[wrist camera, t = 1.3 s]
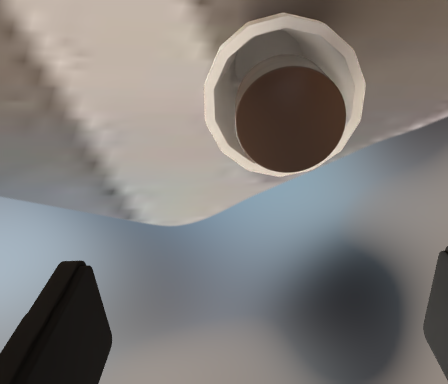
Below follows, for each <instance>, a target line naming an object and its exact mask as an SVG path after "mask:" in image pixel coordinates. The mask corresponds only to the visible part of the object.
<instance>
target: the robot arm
mask: <svg viewBox="0 0 448 384" xmlns="http://www.w3.org/2000/svg"><path fill="white" fill-rule="evenodd" d="M423 329H424V334H425V338H426V340H427V342H428V344H429V346H430V348H431V350H432V351H433V353H434V355H435V357H436V359H437V361H438V363H439V365H440V366H441V369H442V371H443V372H444V374H445V376H446V378H447V380H448V246H447V247H446V250H445V251H441V252H440V253H439V256H438V261H437V265H436V270H435V275H434V279H433V284H432V288H431V293H430V297H429V302H428V306H427V311H426V316H425V320H424V326H423ZM111 345H112V334H111V330H110V327H109V324H108V320H107V317H106V314H105V310H104V307H103V303H102V300H101V297H100V293H99V290H98V287H97V283H96V280H95V276H94V273H93V269H92V267H91V266H86V264H85V262H84V261H63V262H61V263H60V264H59V265H58V266H57V268H56V270H55V271H54V273H53V274H52V276H51V278H50V279H49V281H48V282H47V284H46V285H45V287H44V288H43V290H42V291H41V293H40V295H39V296H38V298H37V300H36V301H35V302H34V304H33V306H32V307H31V309H30V310H29V312H28V313H27V314H26V315H25V316H24V318H23V319H22V321H21V322H20V324H19V325H18V327H17V328H16V330H15V332H14V333H13V335H12V336H11V338H10V339H9V341H8V342H7V344H6V346H5V347H4V349H3V350H2V352H1V353H0V384H98V383H99V380H100V377H101V375H102V372H103V369H104V366H105V363H106V360H107V357H108V355H109V352H110V348H111Z"/></svg>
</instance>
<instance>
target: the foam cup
mask: <svg viewBox="0 0 448 384" xmlns="http://www.w3.org/2000/svg"><path fill="white" fill-rule="evenodd" d="M281 54H293V55H298V56H301V57H304V58H307V59H309V60H310V61H312V62H313V63H315V64H316V65H317V66H318V67H319V68H320V69H321V70H322V71H323V72H324V73H325V74H326V75H327V76H328V77H329V78H330V79H331V80H332V81H333V82H334V83H335V85H336V86H337V87H338V89H339V91H340V92H341V94H342V96H343V99H344V102H345V107H346V124H345V129H344V132H343V135H342V137H341V139H340V141H339V143H338V145H337V146H336V148H335V149H334V150H333V152H332V153H331V154H330V155H329V156H328V157H327V158H326V159H324V160H323V161H322V162H320V163H319V164H317V165H315V166H313V167H311V168H309V169H306V170H303V171H299V172H292V173H282V172H275V171H271V170H268V169H266V168H263V167H261V166H260V165H258V164H256V163H255V162H254V161H252V160H251V159H250V158H249V157H248V156H247V155H246V154H245V152H244V151H243V149H242V148H241V146H240V144H239V142H238V139H237V136H236V131H235V103H236V95H237V91H238V88H239V85H240V83H241V81H242V79H243V78H244V76H245V75H246V74H247V73H248V71H249V70H250V69H251V68H252V67H254V66H255V65H256V64H257V63H259V62H260V61H262V60H264V59H266V58H269V57H272V56H275V55H281ZM365 87H366V83H365V80H364V77H363V74H362V71H361V69H360V66H359V63H358V60H357V57H356V54H355V51H354V49H353V48H352V47H351V46H350V45H348V44H347V43H346V42H345V41H344V40H343V39H342V38H341V37H340V36H339V35H337V34H336V33H335V32H334V31H333V30H332V29H331V28H330V27H329V26H327V25H326V24H325V23H323V22H320V21H318V20H314V19H310V18H306V17H301V16H297V15H292V14H288V13H284V12H283V13H279V14H275V15H271V16H268V17H264V18H260V19H257V20H253V21H249V22H247V23H246V24H245V25H244V26H242V27H241V28H240V29H239V30H238V31H237V32H236V33H234V34H233V35H232V36H231V37H230V38H229V39H228V40H227V41H225V42H224V43H223V44H222V45H221V46H220V48H219V50H218V52H217V55H216V57H215V60H214V62H213V64H212V67H211V69H210V71H209V74H208V76H207V78H206V81H205V84H204V107H205V123H206V125H207V126H208V128H209V130H210V132H211V134H212V136H213V137H214V139H215V141H216V143H217V145H218V147H219V148H220V150H221V152H223V153H224V154H225V155H227V156H228V157H230V158H231V159H232V160H234V161H235V162H236V163H238V164H239V165H241V166H242V167H243V168H245V169H246V170H248V171H253V172H258V173H263V174H268V175H273V176H278V177H282V176H287V175H291V174H296V173H301V172H306V171H311V170H313V169H315V168H316V167H318V166H319V165H321V164H322V163H324V162H325V161H327V160H328V159H330V158H331V157H333V156H334V155H335V154H337V153H338V152H340V151H341V150H342V149H343V147H344V146H345V144H346V143H347V141H348V139H349V138H350V136H351V135H352V133H353V132H354V130H355V129H356V127H357V125H358V124H359V122H360V121H361V115H362V108H363V101H364V94H365Z"/></svg>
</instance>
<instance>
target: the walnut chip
mask: <svg viewBox="0 0 448 384" xmlns="http://www.w3.org/2000/svg"><path fill="white" fill-rule="evenodd" d="M345 124H346V107H345V102H344V99H343V96H342V94H341V92H340V91H339V89H338V87H337V86H336V85H335V83H334V82H333V81H332V80H331V79H330V78H329V77H328V76H327V75H326V74H325V73H324V72H323V71H322V70H321V69H320V68H319V67H318V66H317V65H316V64H315V63H313V62H312V61H310V60H309V59H307V58H304V57H301V56H298V55H293V54H281V55H275V56H272V57H269V58H266V59H264V60H262V61H260V62H259V63H257V64H256V65H255V66H254V67H252V68H251V69H250V70H249V71H248V73H247V74H246V75H245V76H244V78H243V79H242V81H241V83H240V85H239V88H238V91H237V95H236V103H235V131H236V136H237V139H238V142H239V144H240V146H241V148H242V149H243V151H244V152H245V154H246V155H247V156H248V157H249V158H250V159H251V160H252V161H254V162H255V163H256V164H258V165H260V166H261V167H263V168H266V169H268V170H271V171H275V172H282V173H292V172H299V171H303V170H306V169H309V168H311V167H313V166H315V165H317V164H319V163H320V162H322V161H323V160H324V159H326V158H327V157H328V156H329V155H330V154H331V153H332V152H333V150H334V149H335V148H336V146H337V145H338V143H339V141H340V139H341V137H342V135H343V132H344V129H345Z"/></svg>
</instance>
